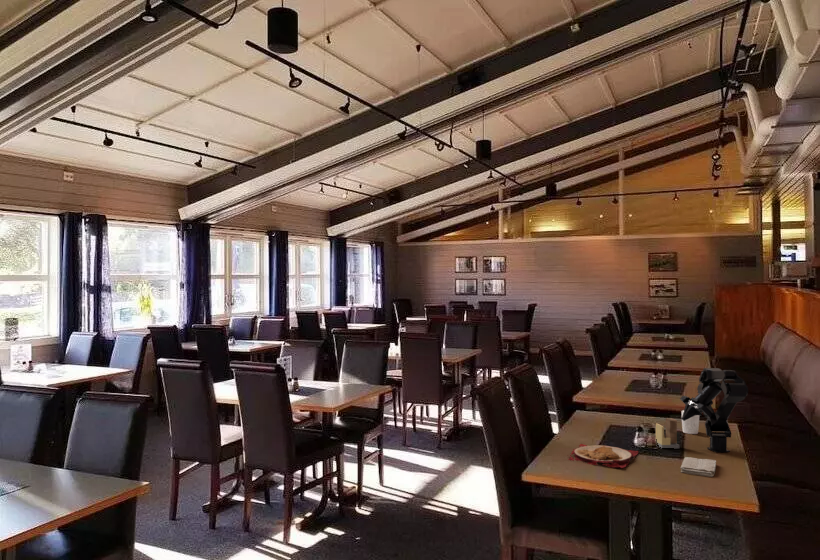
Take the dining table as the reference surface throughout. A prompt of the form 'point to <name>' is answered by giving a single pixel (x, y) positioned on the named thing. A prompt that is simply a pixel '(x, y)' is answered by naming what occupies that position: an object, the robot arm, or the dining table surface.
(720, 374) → the robot arm
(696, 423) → the white cup
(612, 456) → the plate with food
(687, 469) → the washcloth
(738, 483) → the dining table surface
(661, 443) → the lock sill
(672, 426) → the block
